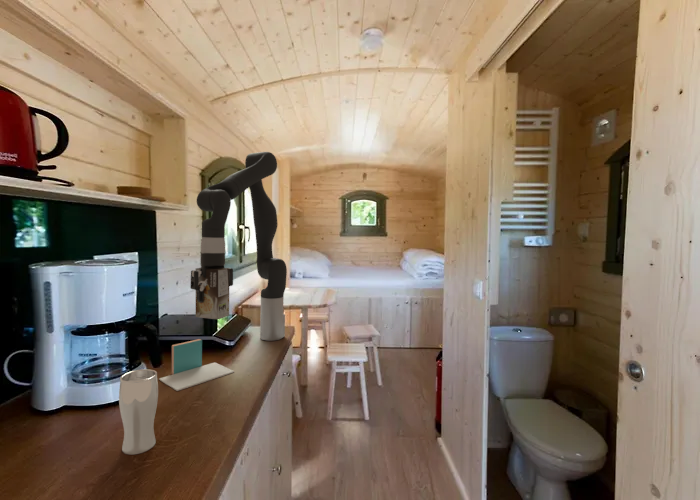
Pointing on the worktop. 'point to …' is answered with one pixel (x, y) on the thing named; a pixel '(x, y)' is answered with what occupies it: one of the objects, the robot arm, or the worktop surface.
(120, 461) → the worktop surface
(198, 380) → the mat
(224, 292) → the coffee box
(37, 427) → the worktop surface
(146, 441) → the beer glass
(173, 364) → the tile
